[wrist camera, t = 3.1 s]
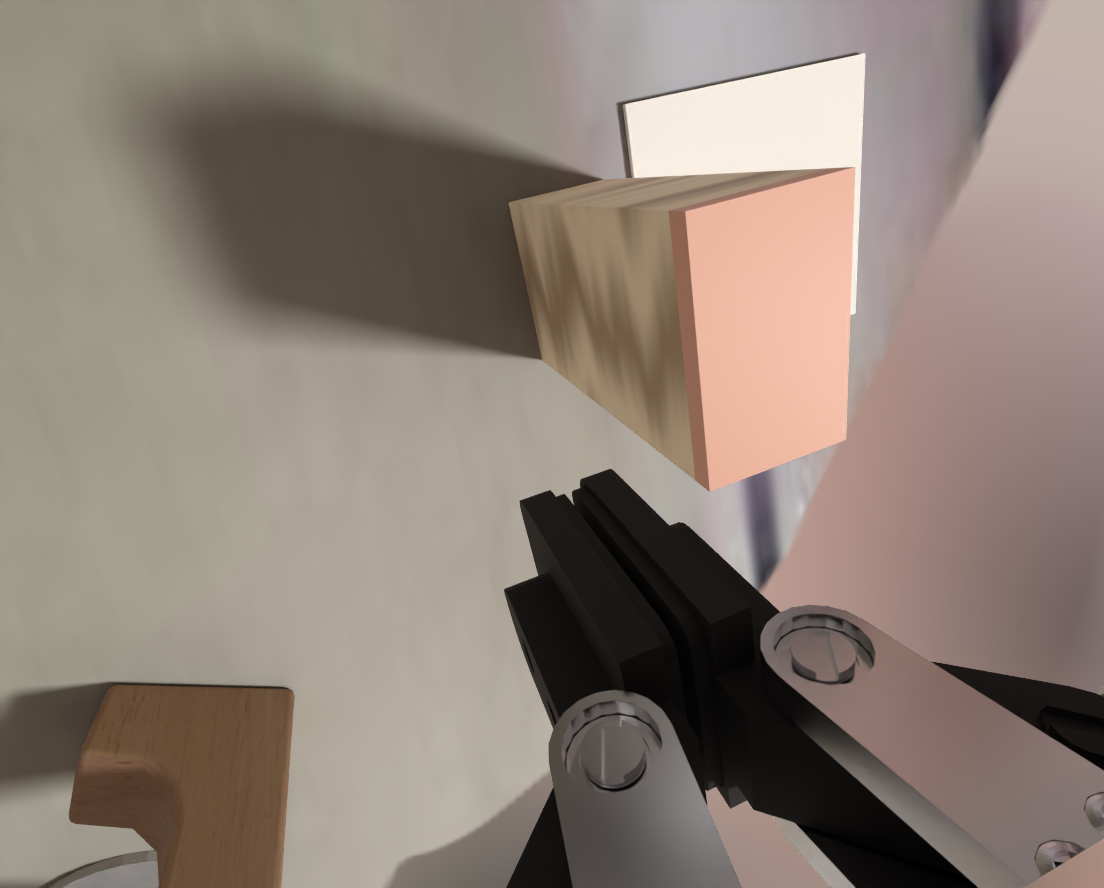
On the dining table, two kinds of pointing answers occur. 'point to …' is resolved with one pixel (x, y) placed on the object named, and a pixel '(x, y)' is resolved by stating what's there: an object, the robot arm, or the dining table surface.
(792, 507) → the dining table surface
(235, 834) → the wooden block
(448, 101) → the dining table surface
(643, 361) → the ash block
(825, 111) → the pad
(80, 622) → the dining table surface
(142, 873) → the mate gourd
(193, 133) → the dining table surface
